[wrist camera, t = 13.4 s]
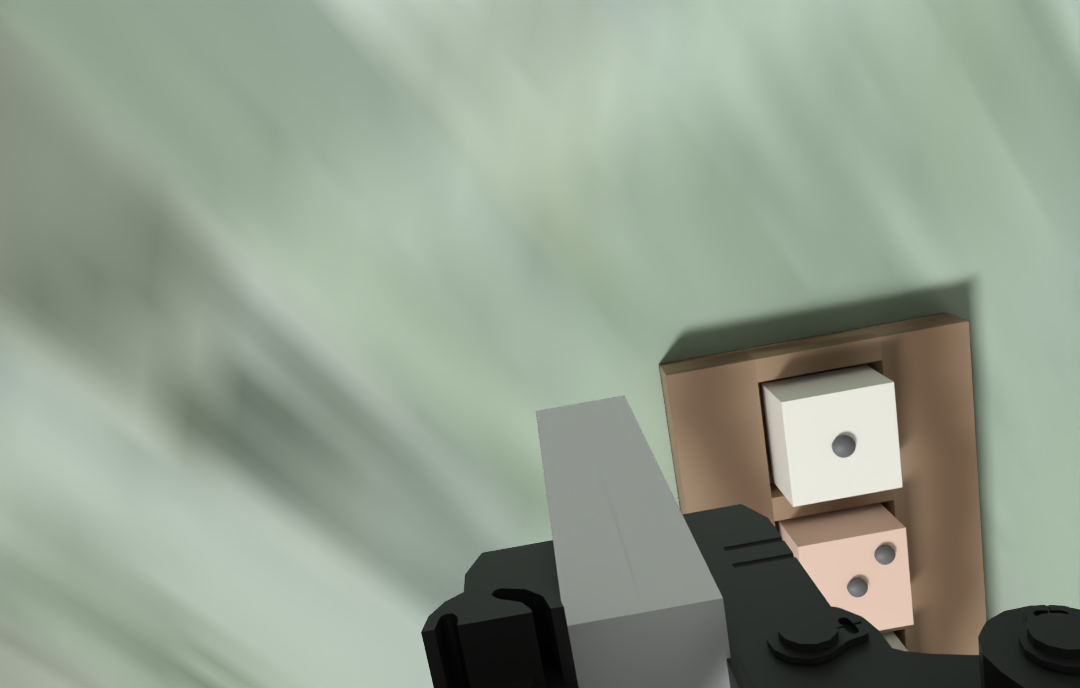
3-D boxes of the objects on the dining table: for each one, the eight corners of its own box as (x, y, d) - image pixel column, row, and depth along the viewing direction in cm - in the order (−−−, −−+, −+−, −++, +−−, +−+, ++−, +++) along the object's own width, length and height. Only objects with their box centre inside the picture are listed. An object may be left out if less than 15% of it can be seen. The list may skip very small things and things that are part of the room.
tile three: (788, 609, 44) (810, 645, 41) (777, 519, 43) (799, 549, 39) (886, 592, 44) (915, 626, 41) (878, 501, 43) (907, 529, 39)
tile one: (773, 481, 42) (794, 508, 39) (761, 383, 41) (782, 403, 38) (874, 463, 42) (904, 489, 39) (865, 364, 41) (895, 383, 38)
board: (716, 754, 47) (725, 781, 45) (658, 364, 42) (666, 375, 40) (972, 708, 47) (993, 733, 45) (946, 312, 42) (968, 321, 40)
